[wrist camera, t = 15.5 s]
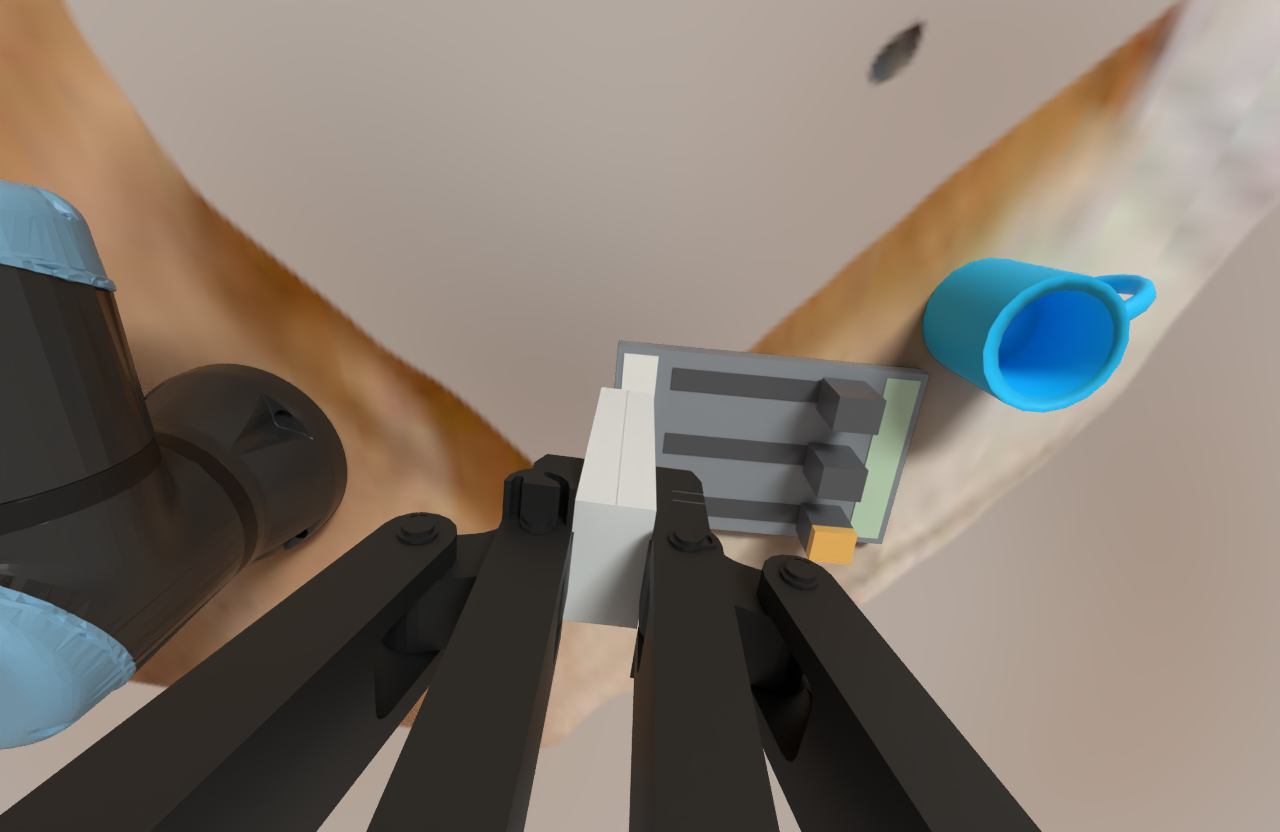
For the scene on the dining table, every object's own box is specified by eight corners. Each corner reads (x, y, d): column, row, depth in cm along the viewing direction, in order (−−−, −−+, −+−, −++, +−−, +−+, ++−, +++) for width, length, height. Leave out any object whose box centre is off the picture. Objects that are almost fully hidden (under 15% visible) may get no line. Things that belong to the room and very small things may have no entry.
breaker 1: (815, 409, 42) (832, 431, 39) (822, 377, 42) (840, 396, 38) (857, 412, 42) (878, 435, 39) (865, 381, 42) (886, 400, 38)
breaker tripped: (795, 529, 46) (808, 560, 42) (801, 502, 45) (815, 531, 41) (833, 532, 46) (850, 564, 42) (840, 506, 45) (857, 535, 41)
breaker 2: (802, 471, 44) (817, 498, 40) (808, 442, 43) (824, 466, 39) (842, 475, 44) (860, 502, 40) (849, 446, 43) (868, 470, 40)
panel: (605, 509, 48) (603, 520, 46) (618, 340, 43) (617, 345, 41) (875, 533, 48) (882, 544, 47) (920, 368, 43) (930, 375, 42)
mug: (936, 388, 44) (996, 431, 36) (910, 285, 41) (969, 307, 33) (1105, 327, 42) (1207, 359, 34) (1090, 215, 39) (1196, 222, 32)
